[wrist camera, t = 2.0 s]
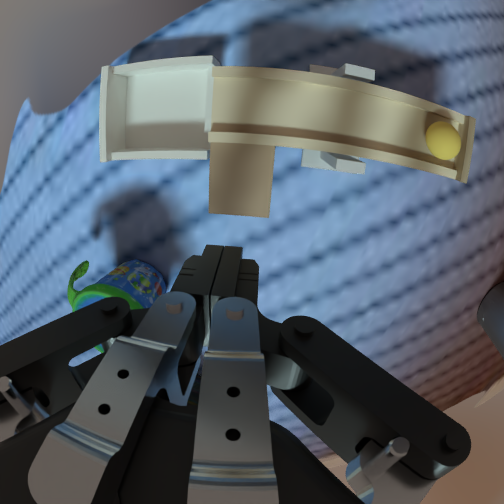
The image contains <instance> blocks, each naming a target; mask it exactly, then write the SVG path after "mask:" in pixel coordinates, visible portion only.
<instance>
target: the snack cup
mask: <svg viewBox="0 0 504 504" xmlns="http://www.w3.org/2000/svg"><path fill="white" fill-rule="evenodd" d="M88 267H89V262H88V261H85V262H82V263H81V264H80V265H79V266H78V267H77V268H76V269H75V270H74V271H73V273H72V275H71V277H70V280H69V285H68V300H69V303H70V305H71V306H72V308H73V312H74V311H76V310H79V309H81V308H83V307H85V306H88V305H90V304H92V303H94V302H97V301H99V300H101V299H104V298H107V297H121V298H124V299H125V300H127V301H128V303H129V305H130V309H131V310H132V309H143V308H150V307H151V306H152V304H153V303H154V301H155V300H156V299H157V298H158V297H159V296H160V295H162V294H165V293H166V285H165V282H164V280H163V276H162V275H161V273H160V272H158V271H157V270H155V268H154V267H153V266H151V265H149V264H147V263H144V262H141V261H139V260H137V259H135V260H132V261H127V262H125V263H123V264H121V265H120V266H118V267H117V268H115V269H114V270H113V271H111V272H110V273H109V274H107V275H106V276H104V277H103V278H102V279H100V280H99V281H98V282H97V283H95V284H93V285H89V286H87V287H85V288H84V289H83V290H81V291H76V290H75V289H74V288H73V283H74V281H76V280H77V279H78V278H80V277H82V276H83V275H84V274H85V273H86V272H87V270H88ZM95 348H96V349H97V350H98V351H100V352H101V353H103V352H104V350H103V347H102V345H101V344H99V345H97V346H95Z"/></svg>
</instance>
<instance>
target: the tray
mask: <svg viewBox="0 0 504 504" xmlns="http://www.w3.org/2000/svg"><path fill="white" fill-rule="evenodd" d="M212 66H220V63H219V62H218V61H217V60H216V58H215V57H214V56H191V57H177V58H167V59H158V60H150V61H143V62H137V63H131V64H125V65H120V66H115V67H113V66H104V67H102V72H101V87H100V111H99V142H100V162H108V161H111V160H130V159H209V158H210V143H211V142H208V132H210V131H211V115H212V98H213V82H214V77H212Z"/></svg>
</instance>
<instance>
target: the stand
mask: <svg viewBox="0 0 504 504" xmlns="http://www.w3.org/2000/svg"><path fill="white" fill-rule="evenodd" d="M309 72H313V73H319V74H325V75H331V76H337V77H342V78H347V79H352V80H357V81H361V82H365V83H368V82H371V81H374V80H375V70H373V69H369V68H365V67H360V66H356V65H351V64H347V63H345V64H344V65H343V66H341V67H340V68H339V69H337V68H332V67H326V66H320V65H313V64H310V65H309ZM301 166H302V167H310V168H319V169H326V170H333V171H340V172H347V173H354V174H357V173H359V174H364V173H365V166H366V163H364V162H362V161H360V160H359V157H356V156H350V155H344V154H338V153H331V152H324V151H317V150H309V149H303V150H302V160H301Z"/></svg>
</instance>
